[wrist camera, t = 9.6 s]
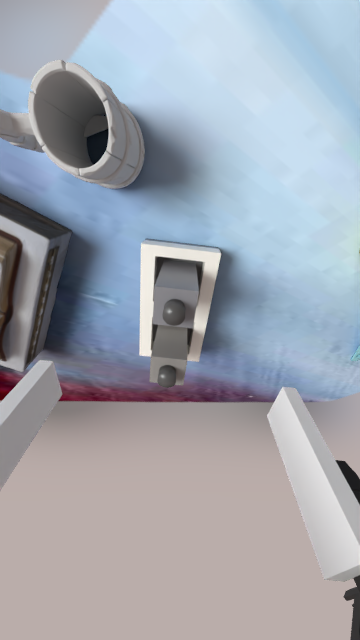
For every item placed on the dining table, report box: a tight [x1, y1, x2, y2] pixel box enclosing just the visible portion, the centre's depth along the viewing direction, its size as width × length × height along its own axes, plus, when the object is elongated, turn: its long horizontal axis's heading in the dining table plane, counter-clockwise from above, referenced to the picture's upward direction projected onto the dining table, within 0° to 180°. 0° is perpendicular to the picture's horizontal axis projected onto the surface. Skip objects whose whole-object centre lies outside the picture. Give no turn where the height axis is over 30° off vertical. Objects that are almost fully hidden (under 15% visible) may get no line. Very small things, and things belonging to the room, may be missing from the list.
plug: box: [153, 260, 199, 328], centre depth 25 cm, size 4×4×12 cm
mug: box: [0, 60, 145, 189], centre depth 19 cm, size 8×12×12 cm, turn 88°
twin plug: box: [150, 325, 187, 388], centre depth 30 cm, size 4×4×12 cm
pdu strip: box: [140, 239, 221, 362], centre depth 31 cm, size 10×18×4 cm, turn 174°
